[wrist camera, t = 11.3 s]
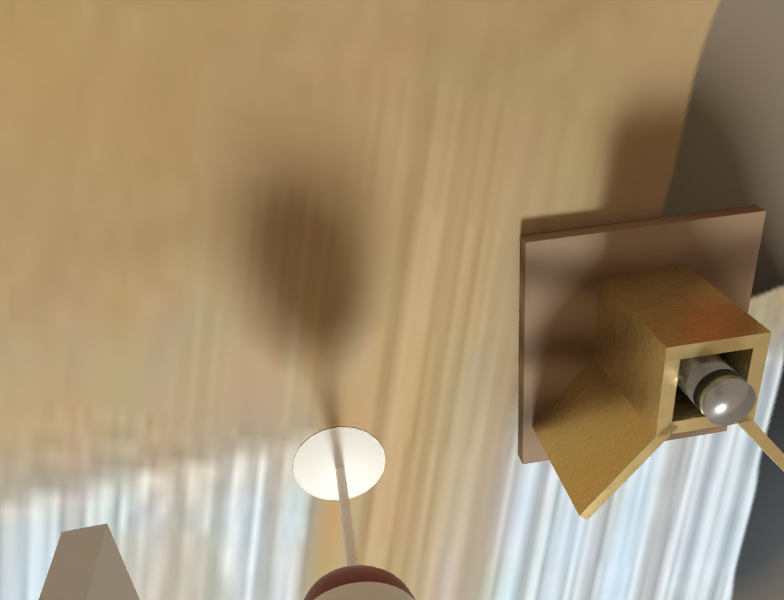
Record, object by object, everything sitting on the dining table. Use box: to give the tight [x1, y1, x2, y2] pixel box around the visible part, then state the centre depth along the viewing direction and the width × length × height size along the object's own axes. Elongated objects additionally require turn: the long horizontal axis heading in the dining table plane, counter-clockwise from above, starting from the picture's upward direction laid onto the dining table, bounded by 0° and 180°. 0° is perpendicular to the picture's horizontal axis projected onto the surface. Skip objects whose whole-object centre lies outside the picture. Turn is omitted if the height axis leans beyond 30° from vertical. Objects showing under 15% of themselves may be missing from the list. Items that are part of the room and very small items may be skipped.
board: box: [518, 205, 766, 464], centre depth 55 cm, size 20×18×1 cm
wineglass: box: [293, 427, 415, 600], centre depth 49 cm, size 8×9×20 cm
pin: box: [677, 354, 756, 426], centre depth 48 cm, size 3×3×12 cm
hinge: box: [532, 266, 784, 520], centre depth 51 cm, size 13×17×10 cm
